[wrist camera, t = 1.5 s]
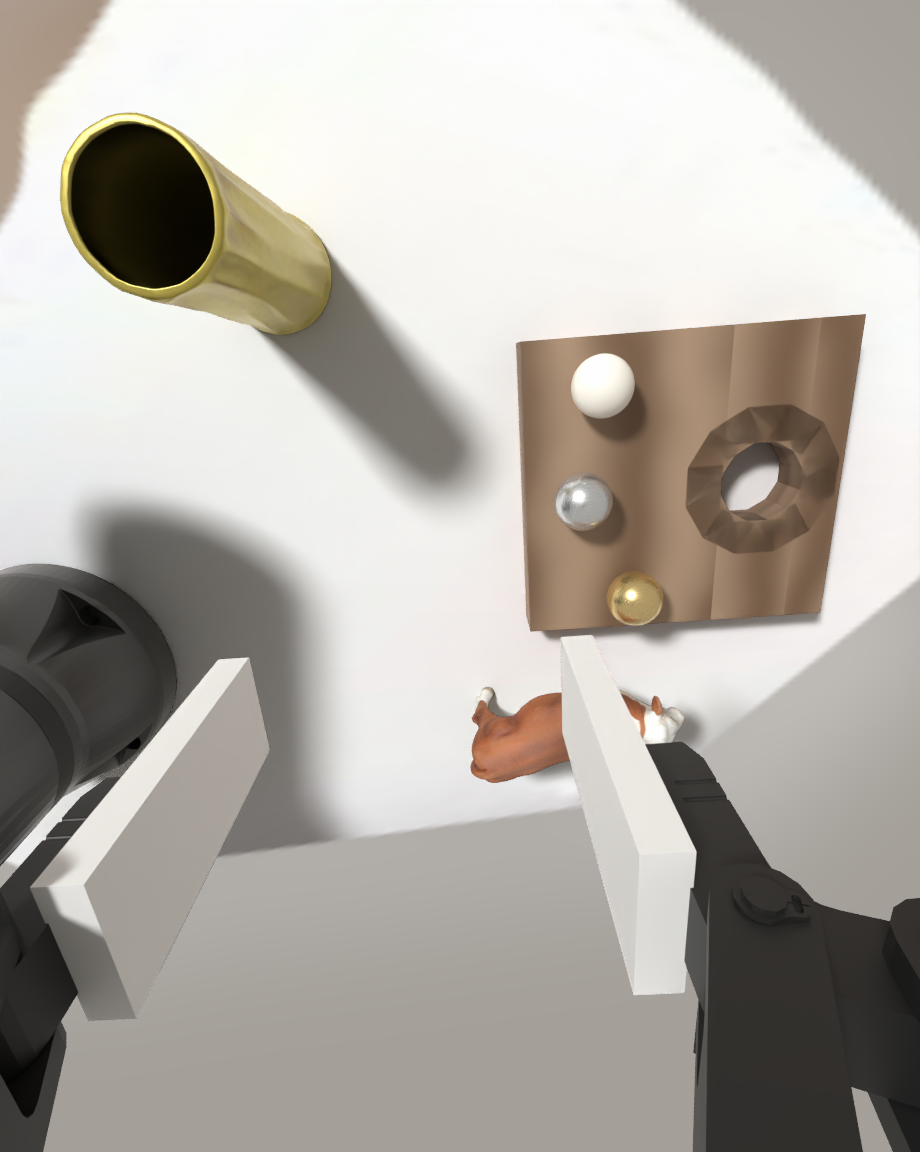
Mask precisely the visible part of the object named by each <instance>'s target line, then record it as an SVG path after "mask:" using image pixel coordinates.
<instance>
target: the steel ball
mask: <svg viewBox="0 0 920 1152" xmlns="http://www.w3.org/2000/svg"><path fill="white" fill-rule="evenodd" d="M612 506H613V496H612V492H611V489H610V487H609V485H608V484H607V483H606V482H605V481H604V480H603V479H602V478H601V477H599V476H597V475H595V474H592V473H587V472H582V473H576V474H573V475H571V476H569V477H567V478H566V479H565V480H564V481H563V482H562V483H561V484H560V485H559V487H558V488H557V490H556V493H555V497H554V508H555V512H556V514H557V516H558V518H559V519H560V520H561V522H562V523H563V524H565V525H566V526H568V527H569V528H572V529H575V530H580V531H586V530H591V529H594V528H596V527H598V526H600V525H601V524H602V523H603V522H604V521H605V520H606V519H607V518H608V516H609V514H610V513H611V510H612Z"/></svg>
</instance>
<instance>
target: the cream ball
mask: <svg viewBox="0 0 920 1152" xmlns="http://www.w3.org/2000/svg"><path fill="white" fill-rule="evenodd" d="M634 387H635V380H634V375H633V372H632V370H631V368H630V366H629V365H628V364H627V362H626V361H624V360H623V359H622V358H620V357H618V356H616V355H613V354H607V353H603V354H597V355H594V356H592V357H590V358H588V359H586V360H585V361H584V362H583V363H582V364H581V365H580V366H579V367H578V368H577V370H576V371H575V373H574V376H573V379H572V383H571V394H572V398H573V401H574V403H575V405H576V406H577V408H578V409H579V410H580V411H581V412H583V413H584V414H585V415H587V416H590V417H593V418H599V419H602V418H609V417H612V416H614V415H616V414H618V413H619V412H621V411H622V410H623V409H624V408H625V407H626V406H627V405H628V403H629V402H630V400H631V398H632V396H633V393H634Z"/></svg>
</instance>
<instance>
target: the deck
mask: <svg viewBox="0 0 920 1152" xmlns="http://www.w3.org/2000/svg"><path fill="white" fill-rule="evenodd" d="M865 317H866V314H862V315H849V316H837V317H824V318H812V319H799V320H787V321H774V322H762V323H749V324H737V325H725V326H712V327H700V328H687V329H675V330H662V331H650V332H637V333H625V334H612V335H600V336H587V337H575V338H562V339H550V340H537V341H525V342H519V343H516V351H517V377H518V404H519V430H520V456H521V483H522V509H523V536H524V562H525V588H526V615H527V619H528V623H529V627H530V631H546V630H561V629H577V628H592V627H607V626H623V625H628V624H625V623H622V622H620V621H619V620H617V619H616V618H615V617H614V616H613V615H612V613H611V612H610V610H609V608H608V605H607V599H606V596H607V591H608V588H609V586H610V584H611V583H612V581H613V580H614V579H615V578H616V577H618V576H619V575H621V574H623V573H625V572H629V571H640V572H644V573H646V574H649V575H650V576H652V577H653V578H654V579H655V580H656V581H657V582H658V583H659V585H660V587H661V589H662V592H663V605H662V608H661V610H660V612H659V614H658V615H657V616H656V617H655V618H654V619H653V620H652V621H650V622H648V623H646V624H653V623H669V622H684V621H699V620H715V619H730V618H745V617H761V616H776V615H791V614H807V613H820V611H821V605H822V598H823V592H824V585H825V578H826V572H827V565H828V559H829V552H830V546H831V539H832V533H833V526H834V520H835V513H836V507H837V500H838V493H839V487H840V480H841V474H842V467H843V461H844V454H845V448H846V441H847V435H848V428H849V422H850V415H851V409H852V402H853V395H854V389H855V382H856V376H857V369H858V363H859V356H860V350H861V343H862V337H863V330H864V324H865ZM603 353H607V354H613V355H616V356H618V357H620V358H622V359H623V360H624V361H626V362H627V364H628V365H629V366H630V368H631V370H632V372H633V375H634V380H635V387H634V393H633V396H632V398H631V400H630V402H629V403H628V405H627V406H626V407H625V408H624V409H623V410H622V411H621V412H619V413H618V414H616V415H614V416H612V417H609V418H602V419H599V418H593V417H590V416H587V415H585V414H584V413H583V412H581V411H580V410H579V409H578V408H577V406H576V405H575V403H574V401H573V398H572V394H571V383H572V379H573V376H574V373H575V371H576V370H577V368H578V367H579V366H580V365H581V364H582V363H583V362H584V361H585V360H586V359H588V358H590V357H592V356H594V355H597V354H603ZM754 443H768V444H770V445H772V447H773V449H774V451H775V453H776V455H777V457H778V459H779V461H780V465H779V474H778V482H777V483H776V485H775V486H774V488H773V489H772V491H771V492H770V494H769V495H768V496H767V498H766V499H765V500H763V501H762V502H760V503H758V504H756V505H755V506H753V507H751V508H750V509H748V510H735V511H729V510H728V508H727V506H726V504H725V502H724V500H723V499H722V497H721V488H722V475H723V473H724V472H725V470H726V469H727V467H728V465H729V464H730V462H731V461H732V459H733V458H734V456H735V455H737V454H738V453H740V452H741V451H743V450H745V449H746V448H748V447H749V446H751V445H753V444H754ZM582 472H587V473H592V474H595V475H597V476H599V477H601V478H602V479H603V480H604V481H605V482H606V483H607V484H608V485H609V487H610V489H611V492H612V496H613V506H612V510H611V513H610V514H609V516H608V518H607V519H606V520H605V521H604V522H603V523H602V524H601V525H600V526H598V527H596V528H594V529H591V530H586V531H580V530H575V529H572V528H569V527H568V526H566V525H565V524H563V523H562V522H561V520H560V519H559V518H558V516H557V514H556V512H555V508H554V497H555V493H556V490H557V488H558V487H559V485H560V484H561V483H562V482H563V481H564V480H565V479H566V478H567V477H569V476H571V475H573V474H576V473H582Z"/></svg>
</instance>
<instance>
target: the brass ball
mask: <svg viewBox="0 0 920 1152" xmlns="http://www.w3.org/2000/svg"><path fill="white" fill-rule="evenodd" d="M606 599H607V605H608V608H609V610H610V612H611V613H612V615H613V616H614V617H615V618H616V619H617V620H619V621H620V622H622V623H625V624H628V625H643V624H646V623H648V622H650V621H652V620H653V619H654V618H655V617H656V616H657V615H658V614H659V612H660V610H661V608H662V605H663V592H662V589H661V587H660V585H659V583H658V582H657V581H656V580H655V579H654V578H653V577H652V576H650V575H649V574H646V573H644V572H640V571H629V572H625V573H623V574H621V575H619V576H618V577H616V578H615V579H614V580H613V581H612V583H611V584H610V586H609V588H608V591H607V596H606Z"/></svg>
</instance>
